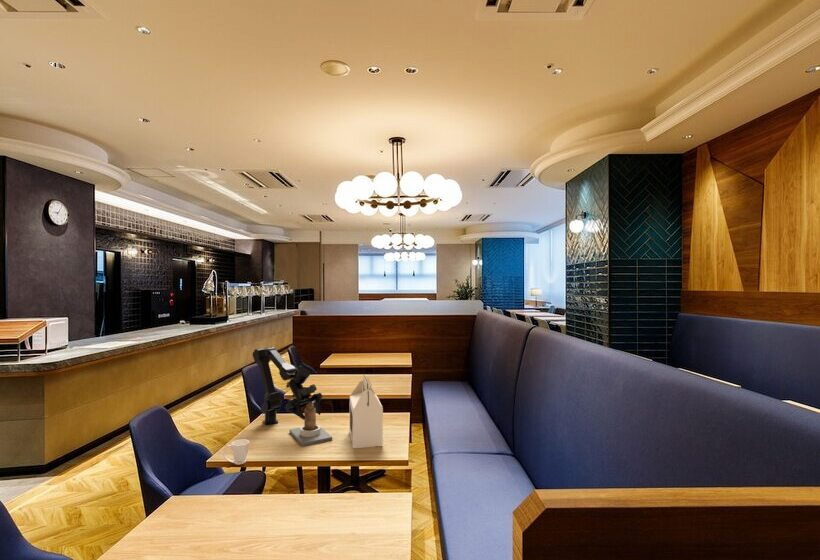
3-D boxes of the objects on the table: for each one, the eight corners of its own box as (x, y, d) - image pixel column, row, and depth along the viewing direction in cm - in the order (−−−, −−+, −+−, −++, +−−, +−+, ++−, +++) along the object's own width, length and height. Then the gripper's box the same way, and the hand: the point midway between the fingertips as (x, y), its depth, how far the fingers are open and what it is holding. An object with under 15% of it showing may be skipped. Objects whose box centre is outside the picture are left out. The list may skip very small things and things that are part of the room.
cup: (246, 465, 166) (246, 445, 166) (220, 466, 165) (220, 446, 165) (251, 458, 173) (251, 438, 173) (226, 459, 172) (226, 439, 172)
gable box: (382, 446, 186) (383, 383, 186) (353, 448, 183) (353, 385, 184) (376, 429, 208) (376, 373, 208) (349, 431, 205) (349, 374, 205)
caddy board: (289, 432, 203) (289, 424, 203) (317, 427, 210) (317, 419, 210) (302, 446, 186) (302, 437, 186) (332, 440, 193) (332, 431, 193)
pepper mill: (302, 434, 197) (302, 403, 197) (308, 430, 201) (308, 400, 202) (311, 435, 195) (311, 404, 195) (317, 431, 199) (317, 401, 200)
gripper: (289, 383, 193) (304, 411, 186) (320, 376, 208) (335, 402, 201) (278, 397, 198) (293, 425, 191) (310, 389, 213) (324, 415, 206)
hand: (312, 416), depth 197 cm, fingers open, 9 cm apart
